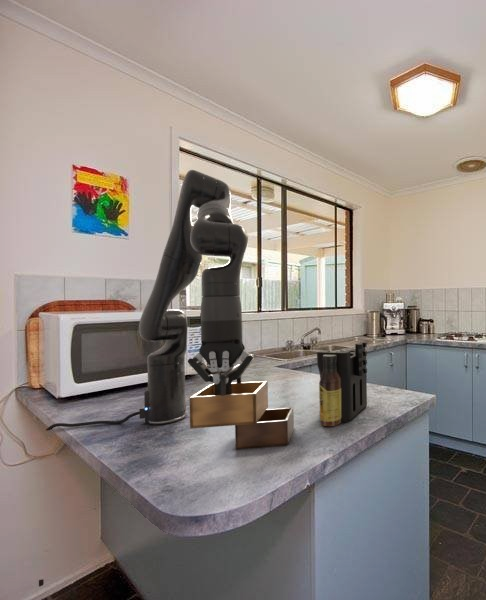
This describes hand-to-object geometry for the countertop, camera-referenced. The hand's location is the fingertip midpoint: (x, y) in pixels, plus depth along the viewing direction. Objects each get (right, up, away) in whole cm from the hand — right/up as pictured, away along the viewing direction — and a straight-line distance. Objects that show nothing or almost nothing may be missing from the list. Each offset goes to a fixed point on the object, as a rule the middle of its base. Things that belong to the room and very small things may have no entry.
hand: (223, 400), depth 68 cm
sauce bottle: (+17, -15, +25) cm, 34 cm away
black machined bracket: (+21, -15, +35) cm, 43 cm away
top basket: (+2, -4, 0) cm, 4 cm away
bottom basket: (+3, -15, +16) cm, 22 cm away
